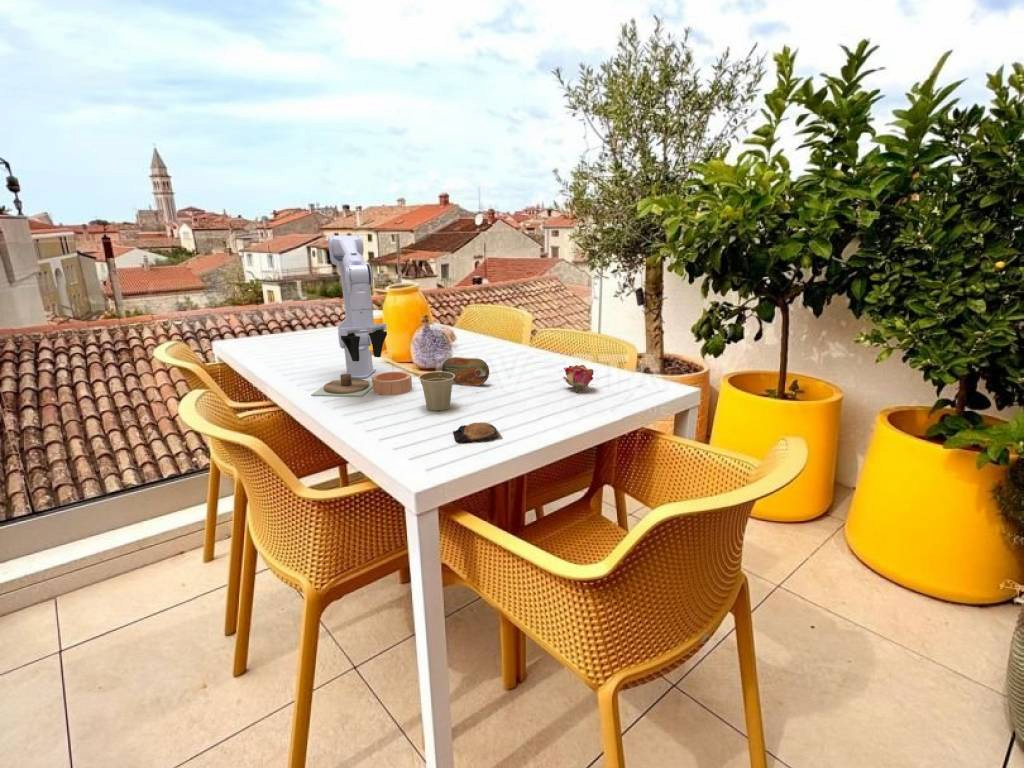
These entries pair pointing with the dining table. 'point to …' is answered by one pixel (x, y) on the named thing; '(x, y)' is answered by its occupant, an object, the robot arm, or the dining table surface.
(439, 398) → the flower pot
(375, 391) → the terracotta bowl
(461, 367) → the tin
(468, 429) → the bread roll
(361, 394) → the rubber mat
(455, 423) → the dining table surface
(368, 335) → the robot arm
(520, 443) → the dining table surface
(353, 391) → the walnut lid
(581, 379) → the flower
